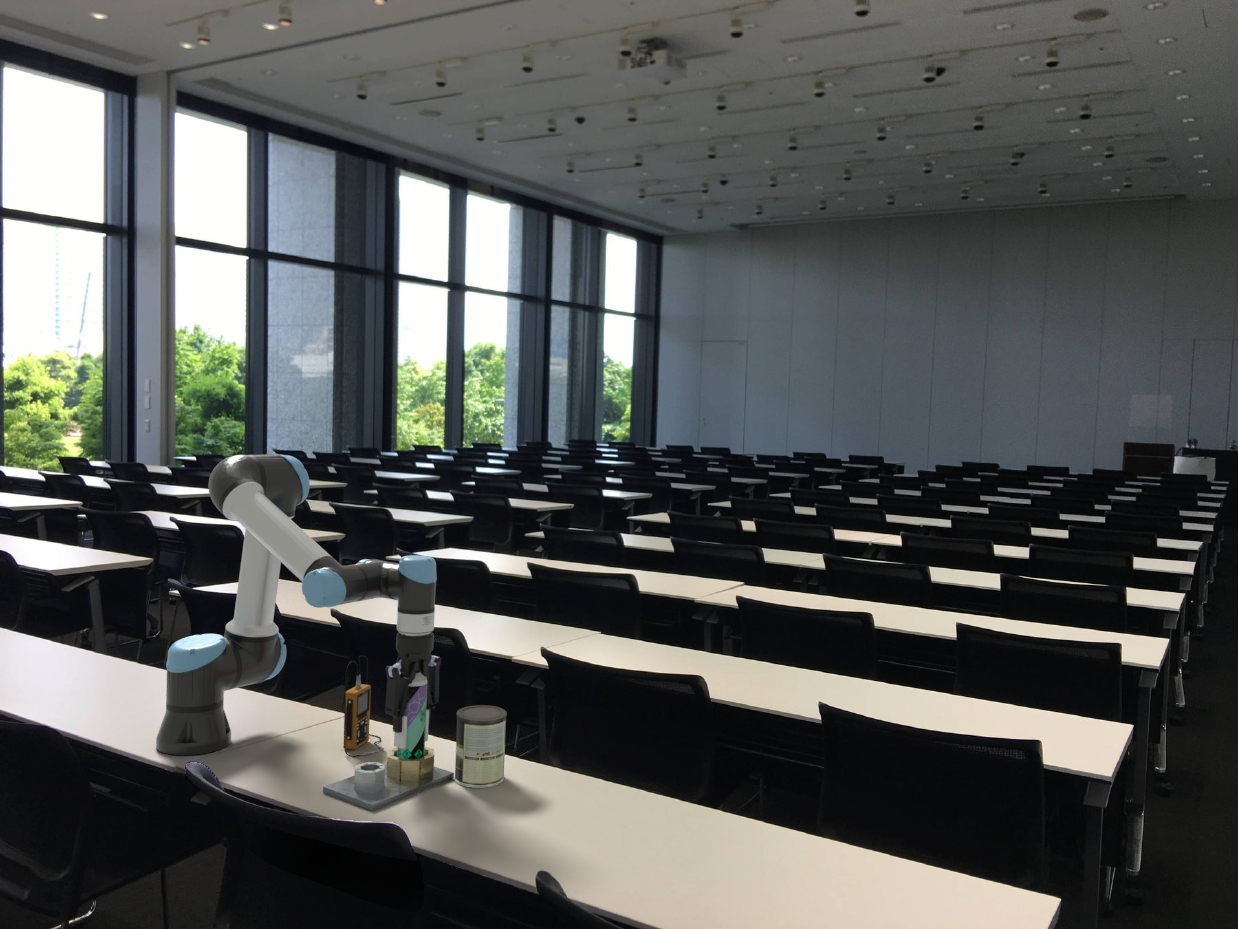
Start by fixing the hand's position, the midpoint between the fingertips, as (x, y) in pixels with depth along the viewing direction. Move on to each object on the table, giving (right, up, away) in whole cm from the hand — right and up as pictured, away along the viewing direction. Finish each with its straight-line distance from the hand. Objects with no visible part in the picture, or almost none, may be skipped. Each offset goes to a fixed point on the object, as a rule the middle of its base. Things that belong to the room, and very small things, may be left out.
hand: (411, 743), depth 200 cm
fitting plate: (-3, -7, -4) cm, 9 cm away
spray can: (0, -4, 0) cm, 4 cm away
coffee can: (+14, -8, +1) cm, 16 cm away
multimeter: (-13, -6, +18) cm, 23 cm away
